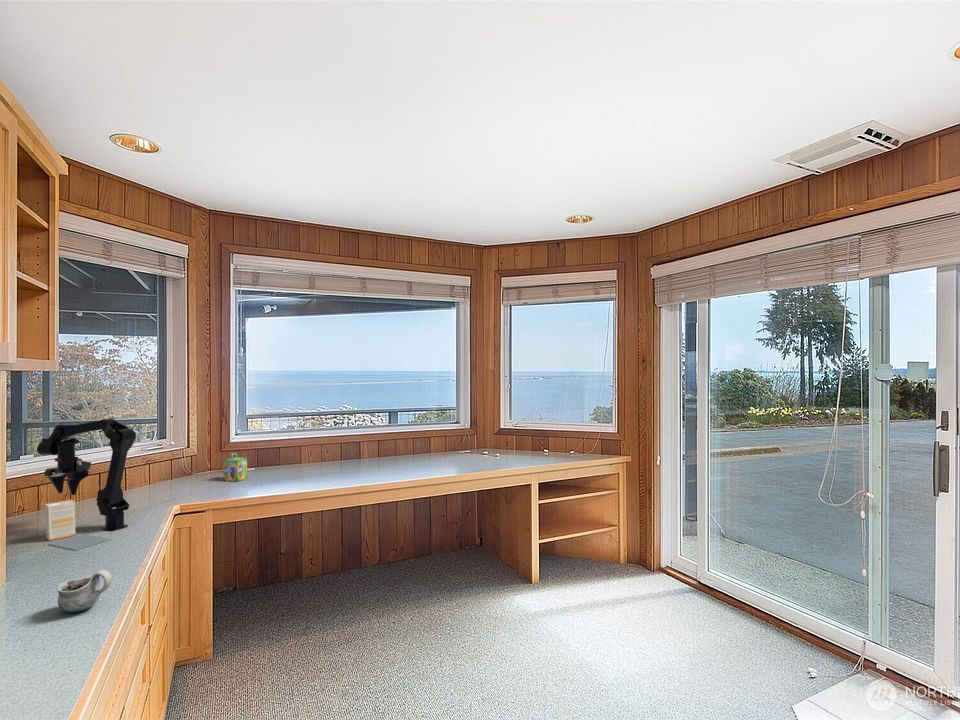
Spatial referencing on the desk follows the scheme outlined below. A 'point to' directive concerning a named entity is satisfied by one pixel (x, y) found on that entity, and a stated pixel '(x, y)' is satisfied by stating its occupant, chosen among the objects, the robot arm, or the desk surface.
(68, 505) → the supplement box
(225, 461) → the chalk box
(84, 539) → the mat
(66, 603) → the mug
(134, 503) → the desk surface
